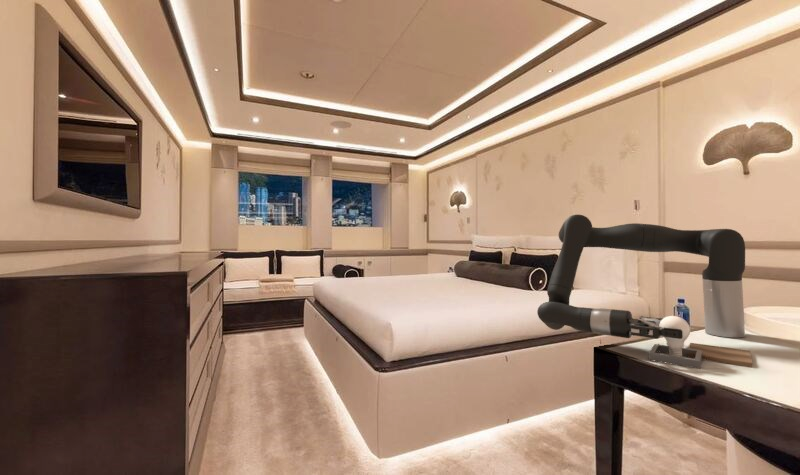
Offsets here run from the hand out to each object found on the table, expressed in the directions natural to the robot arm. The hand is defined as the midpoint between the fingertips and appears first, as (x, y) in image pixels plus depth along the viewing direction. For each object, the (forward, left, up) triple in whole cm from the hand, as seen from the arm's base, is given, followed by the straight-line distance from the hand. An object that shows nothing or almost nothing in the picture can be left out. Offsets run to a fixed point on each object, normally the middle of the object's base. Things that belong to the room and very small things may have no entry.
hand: (684, 330), depth 88 cm
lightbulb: (0, -2, -8) cm, 8 cm away
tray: (0, -2, -8) cm, 8 cm away
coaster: (-9, +6, -8) cm, 13 cm away
